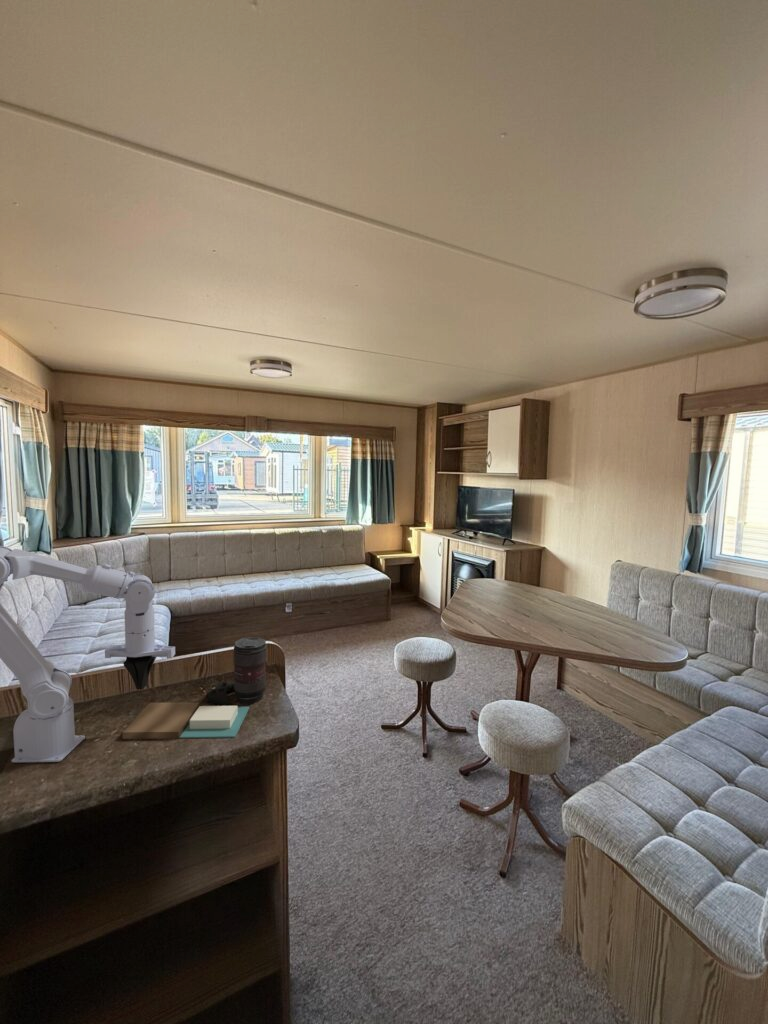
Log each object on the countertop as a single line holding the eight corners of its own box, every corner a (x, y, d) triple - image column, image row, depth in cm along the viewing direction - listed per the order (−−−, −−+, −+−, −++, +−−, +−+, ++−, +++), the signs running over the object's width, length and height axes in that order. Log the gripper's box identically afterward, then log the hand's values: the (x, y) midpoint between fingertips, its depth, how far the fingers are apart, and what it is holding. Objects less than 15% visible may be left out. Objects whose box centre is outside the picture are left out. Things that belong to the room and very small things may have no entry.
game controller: (230, 705, 105) (213, 688, 104) (215, 719, 105) (198, 702, 105) (243, 685, 114) (228, 670, 114) (230, 698, 115) (214, 683, 114)
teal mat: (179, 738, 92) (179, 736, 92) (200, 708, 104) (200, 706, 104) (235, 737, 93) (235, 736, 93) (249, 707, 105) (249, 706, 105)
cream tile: (189, 728, 95) (189, 720, 95) (199, 713, 101) (199, 705, 101) (230, 728, 96) (229, 720, 96) (237, 713, 102) (237, 705, 102)
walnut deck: (122, 738, 92) (122, 732, 92) (150, 708, 104) (149, 702, 104) (178, 738, 92) (178, 731, 92) (199, 708, 104) (199, 702, 104)
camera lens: (265, 704, 107) (265, 647, 106) (232, 707, 105) (231, 649, 104) (266, 688, 115) (266, 635, 113) (235, 691, 113) (235, 637, 111)
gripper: (180, 623, 99) (181, 678, 100) (116, 622, 98) (118, 678, 99) (166, 634, 92) (168, 694, 93) (98, 634, 91) (100, 694, 92)
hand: (141, 687), depth 96 cm, fingers closed
